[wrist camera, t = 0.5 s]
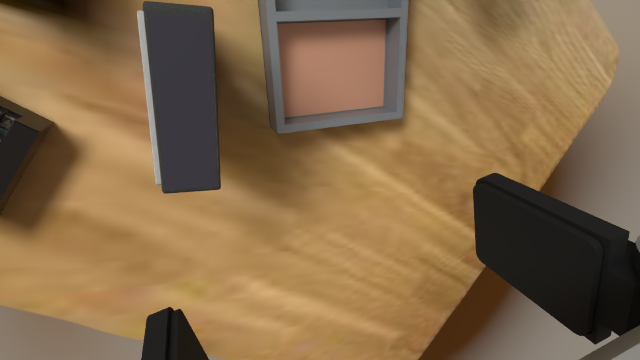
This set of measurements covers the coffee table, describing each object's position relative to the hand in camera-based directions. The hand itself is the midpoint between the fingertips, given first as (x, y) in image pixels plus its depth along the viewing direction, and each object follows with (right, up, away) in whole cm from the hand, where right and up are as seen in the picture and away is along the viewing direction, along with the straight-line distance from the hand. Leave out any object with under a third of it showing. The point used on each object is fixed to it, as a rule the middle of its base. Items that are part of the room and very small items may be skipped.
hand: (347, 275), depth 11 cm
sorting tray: (0, +19, +26) cm, 32 cm away
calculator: (-14, +12, +24) cm, 30 cm away
